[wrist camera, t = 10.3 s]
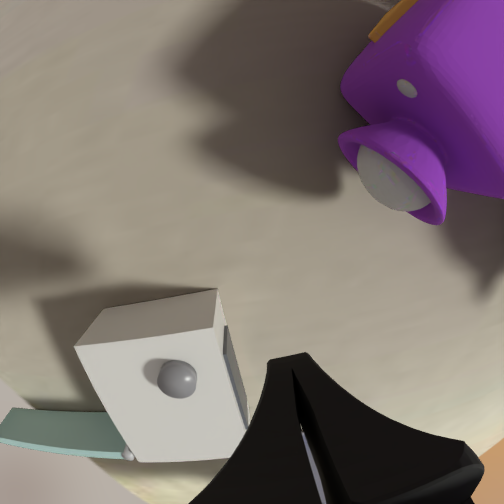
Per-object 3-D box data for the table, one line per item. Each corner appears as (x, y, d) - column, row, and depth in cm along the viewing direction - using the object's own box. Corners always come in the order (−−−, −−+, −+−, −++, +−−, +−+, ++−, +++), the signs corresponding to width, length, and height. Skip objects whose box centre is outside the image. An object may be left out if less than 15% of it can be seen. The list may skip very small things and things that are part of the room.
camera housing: (253, 414, 23) (258, 471, 17) (155, 425, 23) (142, 478, 17) (220, 288, 20) (216, 334, 14) (103, 308, 20) (67, 353, 14)
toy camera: (287, 158, 18) (343, 154, 8) (374, -4, 15) (449, -76, 6) (422, 240, 20) (525, 294, 10) (486, 86, 17) (583, 72, 7)
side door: (143, 409, 22) (130, 453, 18) (148, 419, 23) (137, 462, 18) (12, 406, 22) (-9, 435, 18) (18, 415, 23) (-2, 444, 18)
